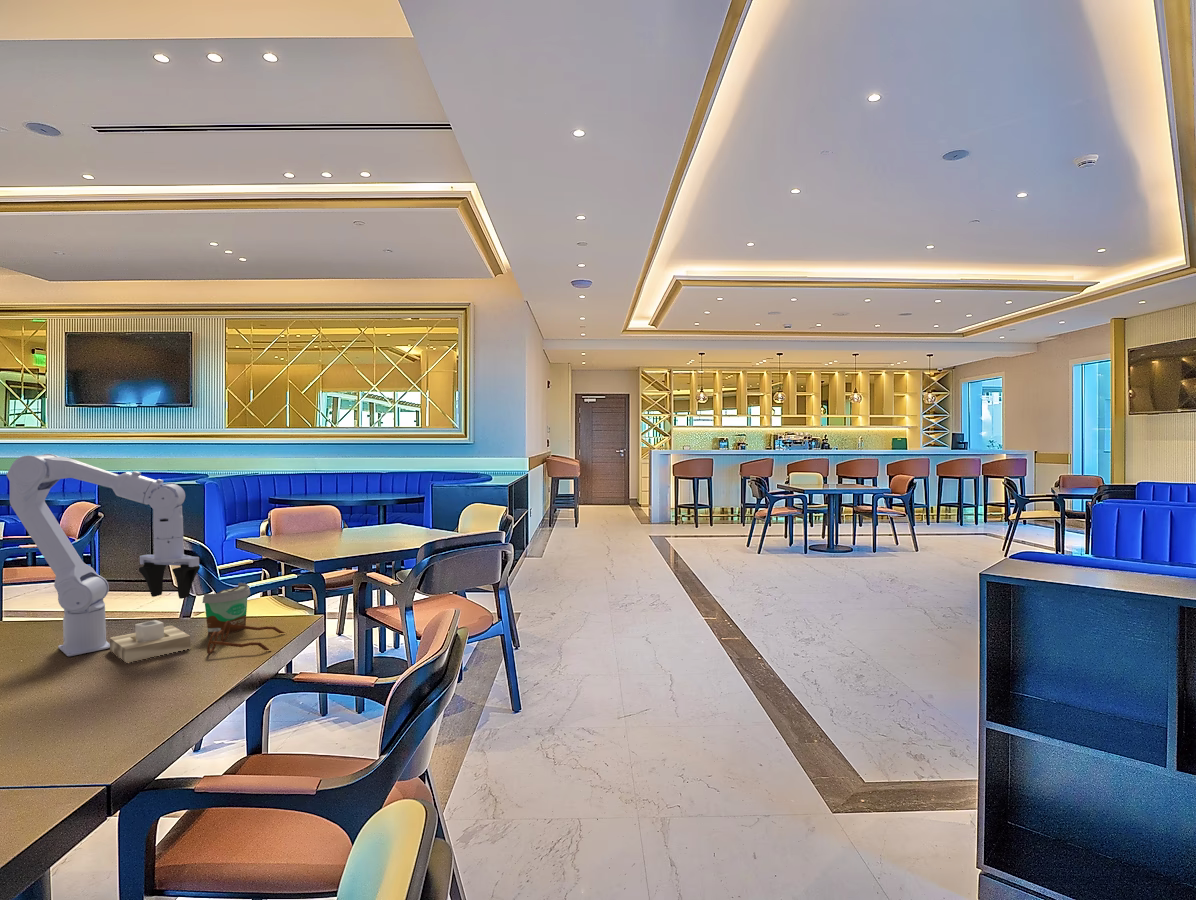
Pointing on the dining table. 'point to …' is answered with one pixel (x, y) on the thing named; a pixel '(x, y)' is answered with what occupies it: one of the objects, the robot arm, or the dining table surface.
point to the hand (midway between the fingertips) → (170, 596)
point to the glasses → (236, 643)
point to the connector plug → (149, 631)
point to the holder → (149, 645)
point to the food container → (226, 608)
